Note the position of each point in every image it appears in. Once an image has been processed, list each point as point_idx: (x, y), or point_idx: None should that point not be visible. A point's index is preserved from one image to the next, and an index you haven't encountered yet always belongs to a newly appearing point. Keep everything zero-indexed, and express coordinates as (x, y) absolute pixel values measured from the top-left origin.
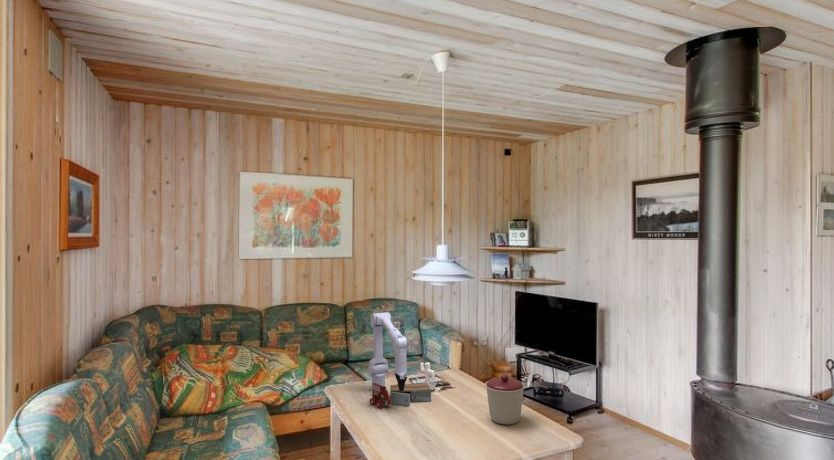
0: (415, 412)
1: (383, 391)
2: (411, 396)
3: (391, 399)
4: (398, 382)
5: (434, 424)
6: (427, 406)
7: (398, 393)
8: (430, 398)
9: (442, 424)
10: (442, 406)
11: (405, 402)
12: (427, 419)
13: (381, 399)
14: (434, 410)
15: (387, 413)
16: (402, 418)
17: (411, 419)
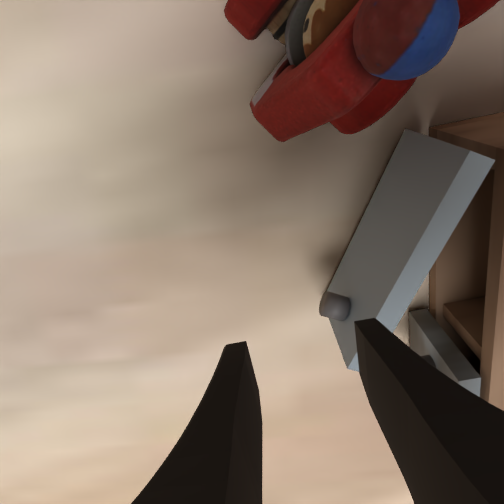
0: (192, 350)
1: (343, 26)
2: (459, 330)
3: (502, 115)
4: (155, 488)
5: (7, 463)
6: (316, 412)
7: (412, 250)
8: None
9: (23, 496)
10: (313, 484)
11: (342, 282)
12: (77, 426)
13: (299, 3)
14: None
15: (134, 117)
16: (47, 270)
17: (46, 336)
